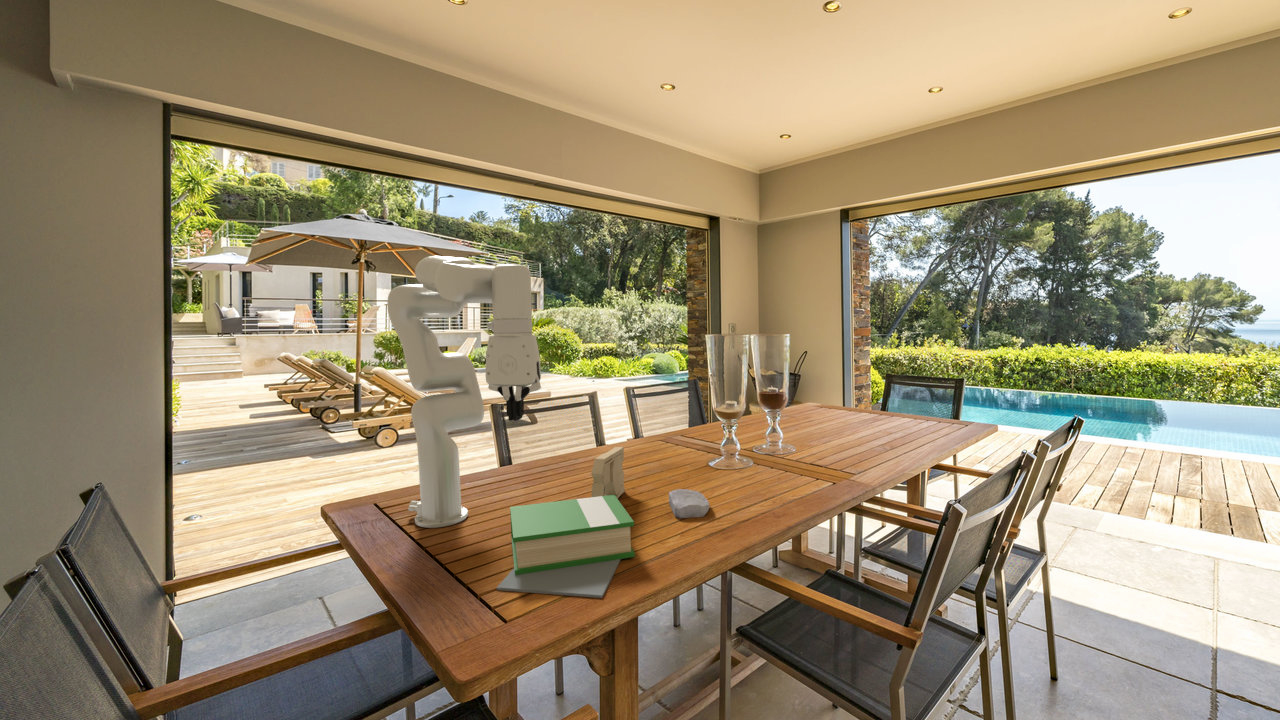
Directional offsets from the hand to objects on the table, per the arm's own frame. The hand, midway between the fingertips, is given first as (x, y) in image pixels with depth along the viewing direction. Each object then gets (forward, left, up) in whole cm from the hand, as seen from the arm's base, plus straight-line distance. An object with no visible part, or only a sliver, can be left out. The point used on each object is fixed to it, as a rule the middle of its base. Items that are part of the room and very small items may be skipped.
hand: (515, 419), depth 104 cm
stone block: (+32, +34, -30) cm, 55 cm away
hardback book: (-3, +1, -25) cm, 26 cm away
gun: (+10, +35, -30) cm, 47 cm away
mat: (+10, 0, -30) cm, 31 cm away
